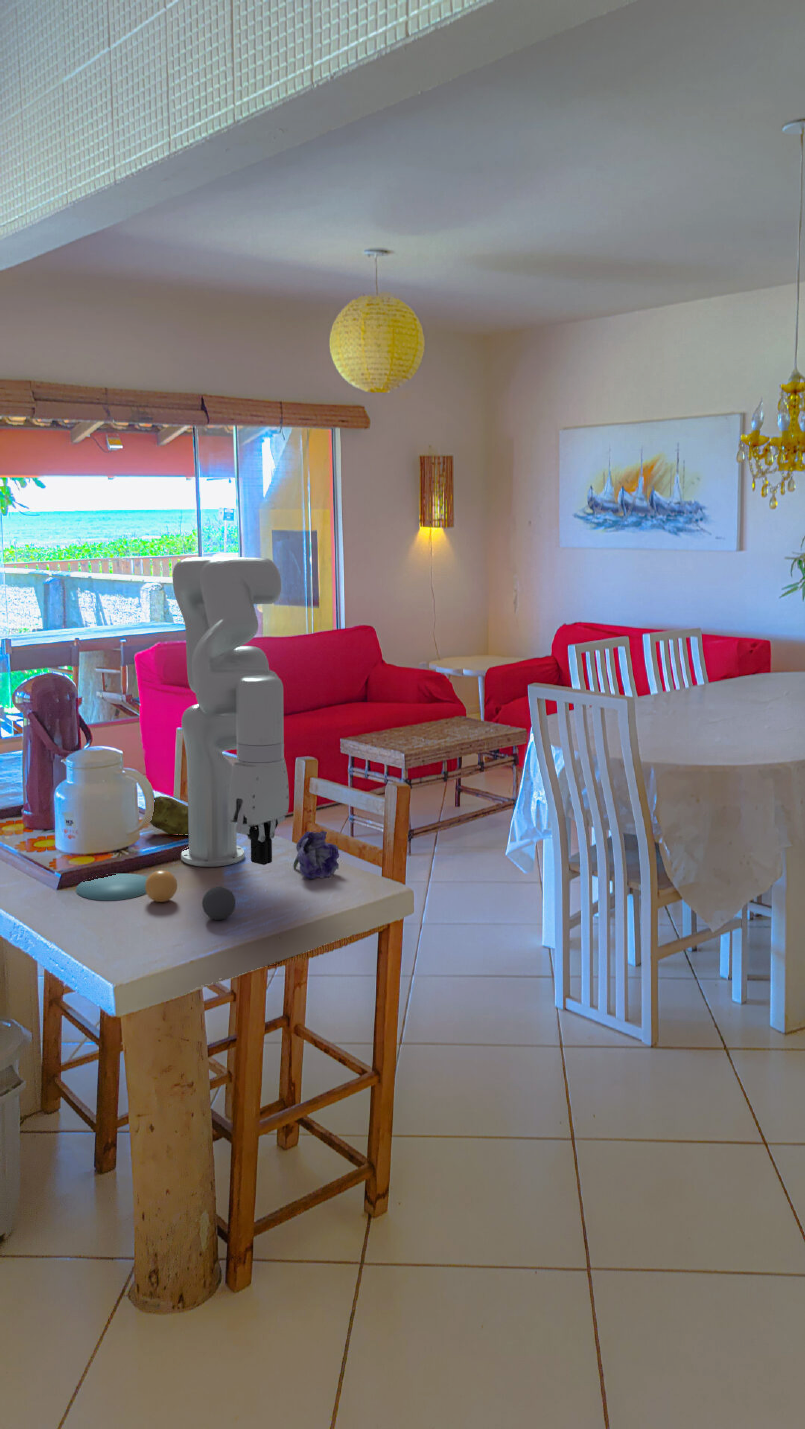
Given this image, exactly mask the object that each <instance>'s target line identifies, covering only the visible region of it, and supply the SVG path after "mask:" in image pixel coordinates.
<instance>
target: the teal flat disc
mask: <svg viewBox="0 0 805 1429" xmlns="http://www.w3.org/2000/svg"><path fill="white" fill-rule="evenodd" d="M115 874H116V875H112V876H108V877H104V878H98V879H94V880H91V881H85V880H84V881H85V882H83V881H81V882H80V883H79V884H78V885H77V886H76V888H75V891H76V892H75V893H76V894H77V895H79V896H81V897H82V898H84V899H88V900H95V901H105V902H107V901H108V902H109V901H121V900H127V899H128V900H129V899H133V898H138V897H141V896H143V895H145V894H146V895H147V893H146V890H145V883H146V880H147V878H148V877H149V876H145V875H142V874H138V873H137V874H136V873H115Z"/></svg>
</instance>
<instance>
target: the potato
mask: <svg viewBox="0 0 805 1429" xmlns="http://www.w3.org/2000/svg"><path fill="white" fill-rule="evenodd" d="M153 798H154V800H155V802H154V812H153V816H152V820H151V821H150V822H149V824H150V825H151V826H152V827H154V828H156V829H158V830H161V831H162V832H165V833H166V834H168V833H169V834H168V835H170V834H178V835H179V834H183V835H185V834H188V805H187V804H184V803H182V802H180V801H179V800H176V799H174V798H172V797H170V796H163V795H161V796H160V795H159V796H156V797H153Z"/></svg>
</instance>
